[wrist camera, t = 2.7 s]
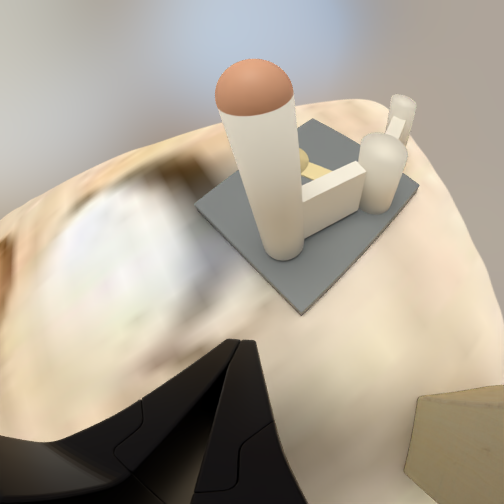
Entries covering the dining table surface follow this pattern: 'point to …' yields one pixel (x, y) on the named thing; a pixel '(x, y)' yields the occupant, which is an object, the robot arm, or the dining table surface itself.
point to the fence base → (386, 156)
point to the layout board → (316, 245)
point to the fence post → (279, 159)
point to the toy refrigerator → (459, 446)
